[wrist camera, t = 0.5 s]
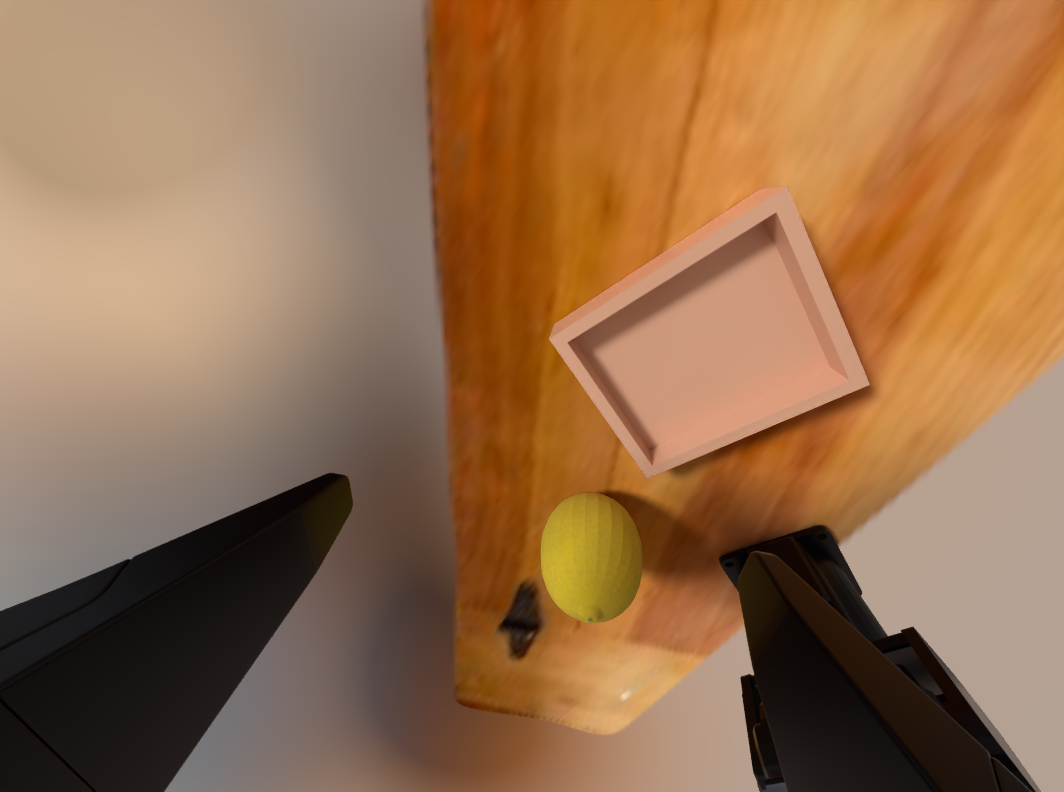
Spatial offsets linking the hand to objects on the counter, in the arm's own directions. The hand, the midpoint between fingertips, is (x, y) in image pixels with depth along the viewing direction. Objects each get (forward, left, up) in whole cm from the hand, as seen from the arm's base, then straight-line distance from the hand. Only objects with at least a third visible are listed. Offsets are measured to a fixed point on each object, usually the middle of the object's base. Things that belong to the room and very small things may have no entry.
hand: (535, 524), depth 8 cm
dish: (-3, -5, -13) cm, 14 cm away
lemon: (-10, +5, -13) cm, 17 cm away
